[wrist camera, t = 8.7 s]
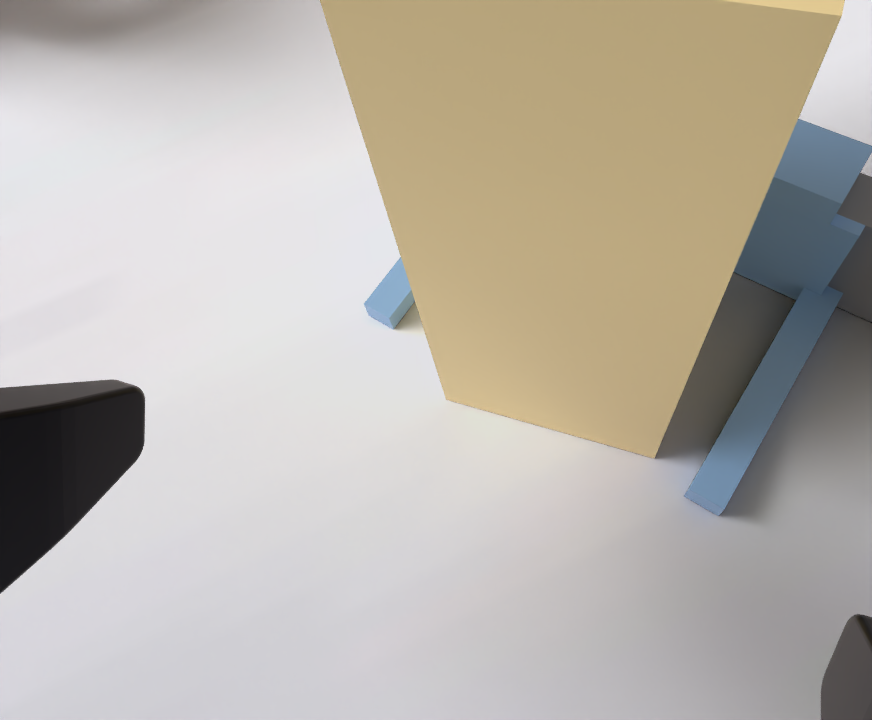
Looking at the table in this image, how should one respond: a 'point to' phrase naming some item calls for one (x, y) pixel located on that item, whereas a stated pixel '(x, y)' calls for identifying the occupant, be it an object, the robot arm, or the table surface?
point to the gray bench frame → (770, 285)
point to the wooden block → (575, 184)
